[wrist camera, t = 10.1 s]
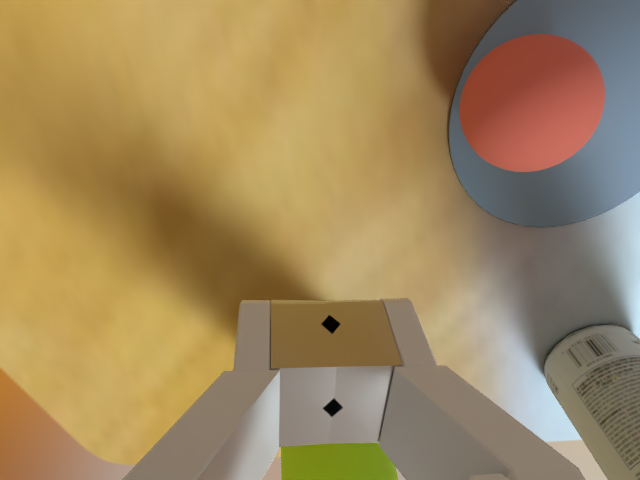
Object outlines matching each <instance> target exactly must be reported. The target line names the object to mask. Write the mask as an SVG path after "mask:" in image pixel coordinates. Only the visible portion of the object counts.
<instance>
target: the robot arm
mask: <svg viewBox="0 0 640 480" xmlns="http://www.w3.org/2000/svg"><path fill="white" fill-rule="evenodd" d="M327 443H379V446H380V448H381V449H382V450H383V451H384V453H385V454H386V455H387V456H388V458H389V459H390V460H391V461H392V463H393V464H394V465H395V466H396V468H397V469H398V470H399V471H400V472H401V474H402V475H403V476H404V478H405V479H406V480H585V478H584V477H583V475H582V473H581V472H580V470H579V468H578V467H576V466H575V465H574V464H573V463H571V462H570V461H569V460H568V459H566V458H565V457H564V456H562V455H561V454H560V453H558V452H557V451H556V450H554V449H553V448H552V447H551V446H549V445H548V444H547V443H545V442H544V441H543V440H542V439H540V438H539V437H538V436H536V435H535V434H534V433H533V432H531V431H530V430H529V429H527V428H526V427H525V426H523V425H522V424H521V423H520V422H518V421H517V420H516V419H514V418H513V417H512V416H510V415H509V414H508V413H507V412H505V411H504V410H503V409H501V408H500V407H499V406H497V405H496V404H495V403H494V402H492V401H491V400H490V399H488V398H487V397H486V396H485V395H483V394H482V393H481V392H479V391H478V390H477V389H475V388H474V387H473V386H472V385H470V384H469V383H468V382H466V381H465V380H464V379H462V378H461V377H460V376H459V375H457V374H456V373H455V372H453V371H452V370H451V369H449V368H448V367H447V366H437V364H436V361H435V359H434V356H433V354H432V352H431V349H430V347H429V344H428V342H427V339H426V337H425V334H424V332H423V329H422V327H421V324H420V322H419V319H418V317H417V314H416V312H415V309H414V307H413V304H412V302H411V301H410V300H409V299H408V298H400V299H380V300H339V301H324V300H271V331H270V301H269V300H242V301H241V303H240V306H239V317H238V327H237V337H236V348H235V358H234V368H233V371H224V372H223V373H222V374H221V375H220V376H219V377H218V378H217V379H216V380H215V381H214V383H213V384H212V385H211V386H210V387H209V388H208V389H207V390H206V391H205V392H204V393H203V394H202V395H201V396H200V397H199V398H198V400H197V401H196V402H195V403H194V404H193V405H192V406H191V407H190V408H189V409H188V410H187V411H186V412H185V413H184V414H183V416H182V417H181V418H180V419H179V420H178V421H177V422H176V423H175V424H174V425H173V426H172V427H171V428H170V429H169V430H168V431H167V433H166V434H165V435H164V436H163V437H162V438H161V439H160V440H159V441H158V442H157V443H156V444H155V445H154V446H153V447H152V448H151V450H150V451H149V452H148V453H147V454H146V455H145V456H144V457H143V458H142V459H141V460H140V461H139V462H138V463H137V464H136V466H135V467H134V468H133V469H132V470H131V471H130V472H129V473H128V474H127V475H126V476H125V477H124V478H123V479H122V480H262V478H263V477H264V475H265V473H266V472H267V470H268V468H269V466H270V465H271V463H272V461H273V459H274V458H275V456H276V454H277V453H278V451H279V447H285V446H299V445H313V444H327Z"/></svg>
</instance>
